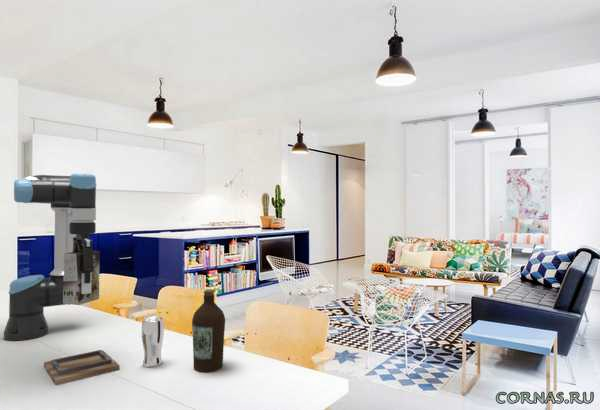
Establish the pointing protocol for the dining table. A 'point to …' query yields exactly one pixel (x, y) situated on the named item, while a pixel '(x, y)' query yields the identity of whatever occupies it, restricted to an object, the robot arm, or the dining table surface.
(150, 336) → the beer glass
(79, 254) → the coffee box
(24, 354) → the dining table surface
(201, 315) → the olive oil
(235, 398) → the dining table surface
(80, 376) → the pocket board
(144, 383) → the dining table surface
